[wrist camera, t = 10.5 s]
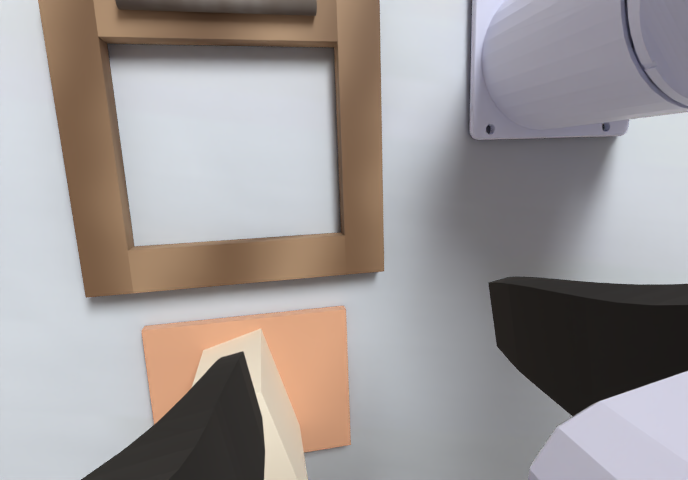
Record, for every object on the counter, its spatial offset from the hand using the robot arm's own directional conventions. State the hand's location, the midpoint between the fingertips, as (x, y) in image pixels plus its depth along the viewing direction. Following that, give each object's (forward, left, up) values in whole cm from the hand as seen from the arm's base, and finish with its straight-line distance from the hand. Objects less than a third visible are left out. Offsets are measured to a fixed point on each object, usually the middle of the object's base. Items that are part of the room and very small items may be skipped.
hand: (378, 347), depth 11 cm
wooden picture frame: (+4, -6, -10) cm, 13 cm away
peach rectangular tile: (+4, +7, -10) cm, 13 cm away
